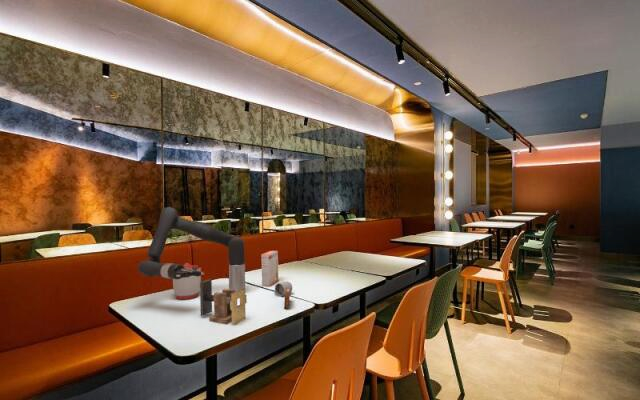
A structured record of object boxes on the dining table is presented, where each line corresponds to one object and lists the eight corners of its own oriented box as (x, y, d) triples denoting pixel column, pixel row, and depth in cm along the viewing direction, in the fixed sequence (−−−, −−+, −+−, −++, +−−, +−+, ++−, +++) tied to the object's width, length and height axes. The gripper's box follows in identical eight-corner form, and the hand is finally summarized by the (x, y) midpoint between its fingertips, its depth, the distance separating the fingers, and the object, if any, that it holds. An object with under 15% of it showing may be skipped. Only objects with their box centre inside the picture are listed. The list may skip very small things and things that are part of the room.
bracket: (209, 321, 146) (208, 293, 146) (223, 313, 155) (223, 287, 155) (226, 324, 142) (226, 295, 142) (240, 316, 151) (239, 289, 151)
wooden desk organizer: (200, 315, 151) (200, 282, 151) (209, 311, 156) (209, 279, 156) (226, 320, 145) (226, 285, 145) (235, 315, 150) (234, 282, 150)
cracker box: (270, 280, 216) (270, 250, 216) (278, 281, 215) (278, 250, 214) (261, 286, 203) (260, 254, 203) (269, 286, 201) (269, 254, 201)
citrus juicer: (208, 296, 183) (207, 262, 183) (176, 303, 172) (175, 266, 172) (200, 290, 195) (199, 258, 195) (169, 296, 185) (169, 262, 185)
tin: (284, 300, 174) (284, 285, 174) (290, 300, 174) (290, 285, 174) (283, 310, 159) (283, 293, 159) (290, 310, 159) (289, 293, 159)
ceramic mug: (293, 294, 186) (293, 281, 186) (284, 297, 179) (283, 284, 179) (280, 291, 192) (280, 278, 192) (270, 294, 185) (270, 281, 185)
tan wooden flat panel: (230, 325, 141) (229, 294, 141) (244, 317, 151) (243, 288, 150) (233, 325, 141) (232, 294, 141) (246, 317, 150) (246, 288, 150)
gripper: (182, 275, 168) (209, 277, 162) (162, 282, 156) (190, 285, 150) (182, 261, 168) (208, 263, 162) (162, 267, 155) (190, 269, 150)
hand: (199, 273), depth 156 cm, fingers closed
